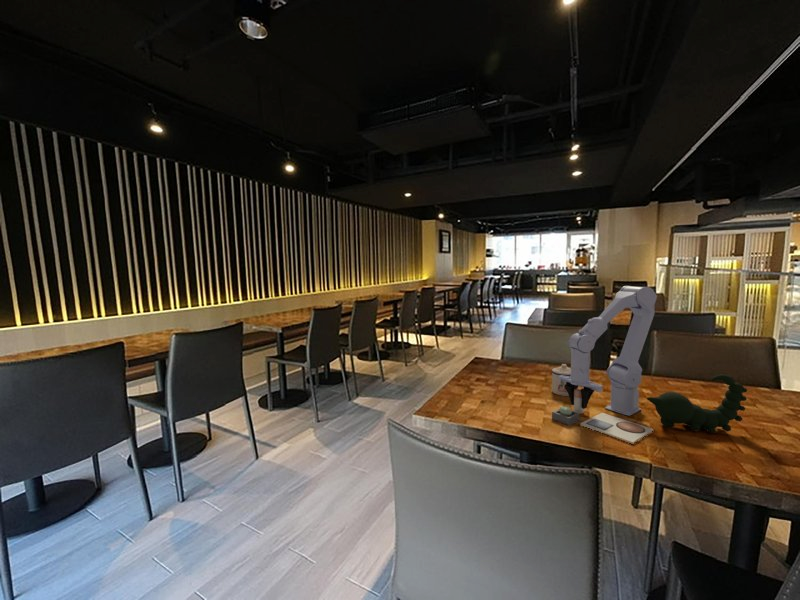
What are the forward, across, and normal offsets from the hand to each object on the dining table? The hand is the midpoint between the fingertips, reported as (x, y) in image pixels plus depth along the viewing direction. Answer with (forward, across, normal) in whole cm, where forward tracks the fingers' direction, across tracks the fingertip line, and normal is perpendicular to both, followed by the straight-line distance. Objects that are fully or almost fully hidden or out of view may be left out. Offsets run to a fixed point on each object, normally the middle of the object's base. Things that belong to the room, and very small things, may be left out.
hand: (578, 406), depth 120 cm
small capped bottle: (+2, 0, 0) cm, 2 cm away
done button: (0, +1, -10) cm, 10 cm away
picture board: (+2, +14, -3) cm, 14 cm away
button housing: (+2, +1, -10) cm, 10 cm away
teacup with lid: (+2, -13, +15) cm, 20 cm away
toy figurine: (+2, +27, +16) cm, 31 cm away
